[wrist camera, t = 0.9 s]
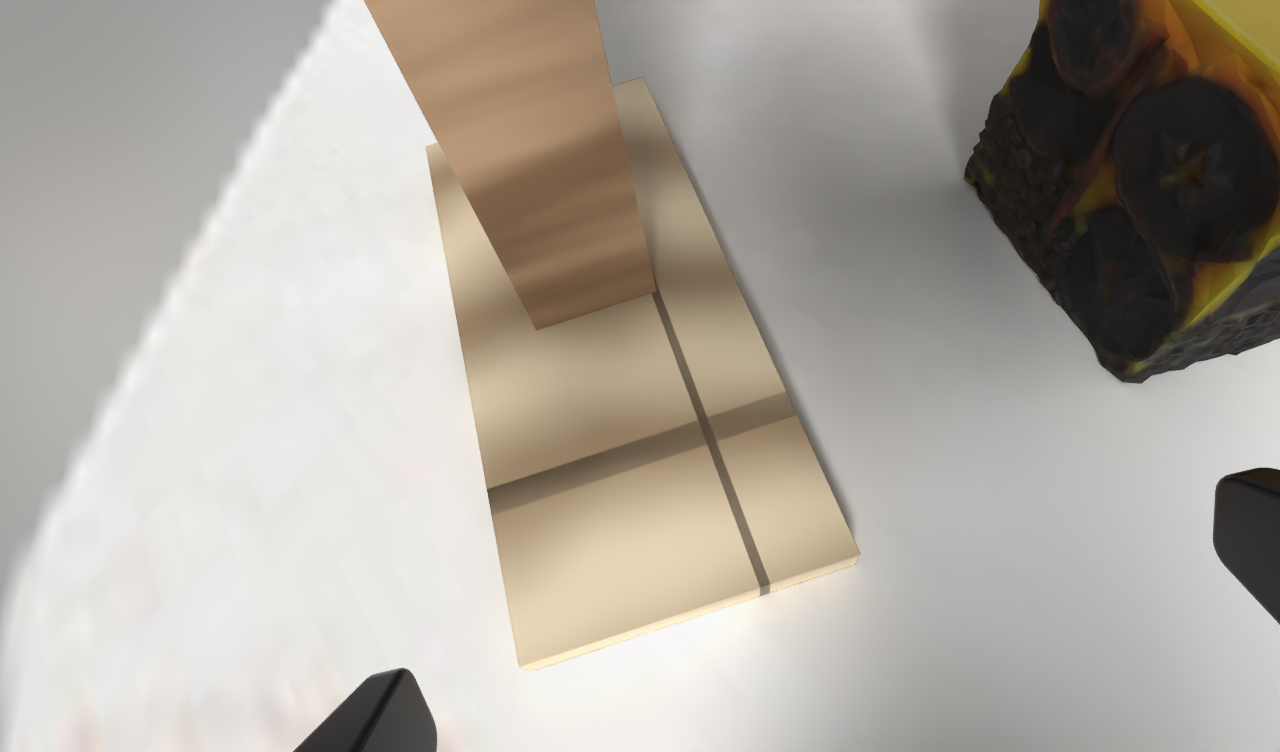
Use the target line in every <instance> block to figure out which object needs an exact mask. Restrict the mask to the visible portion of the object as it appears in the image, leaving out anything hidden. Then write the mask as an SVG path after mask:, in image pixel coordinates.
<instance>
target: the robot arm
mask: <svg viewBox="0 0 1280 752" xmlns="http://www.w3.org/2000/svg"><path fill="white" fill-rule="evenodd" d="M1213 544H1214V548H1215V550H1216V553H1217V555H1218V557H1219V558H1220V560H1221V561H1222V563H1223V564H1224V565H1225V566H1226V568H1227V569H1228V570H1229V571H1230V572H1231V573H1232V574H1233V575H1234V576H1235V577H1236V578H1237V579H1238V580H1239V581H1240V583H1241V584H1242V585H1243V586H1244V587H1245V588H1246V589H1247V590H1248V591H1249V592H1250V593H1251V594H1252V595H1253V596H1254V597H1255V599H1256V600H1257V601H1258V602H1259V603H1260V604H1261V605H1262V606H1263V607H1264V608H1265V609H1266V610H1267V611H1268V612H1269V613H1270V615H1271V616H1272V617H1273V618H1274V619H1275V620H1276V621H1277V622H1278V623H1279V624H1280V470H1278V469H1272V468H1255V469H1251V470H1247V471H1242V472H1238V473H1234V474H1230V475H1227V476H1225V477H1223V478H1221V479H1220V481H1219V482H1218V484H1217V486H1216V490H1215V507H1214V525H1213ZM436 751H437V731H436V726H435V722H434V719H433V717H432V714H431V712H430V710H429V708H428V706H427V703H426V701H425V699H424V697H423V695H422V692H421V690H420V688H419V686H418V684H417V681H416V679H415V677H414V676H413V674H412V673H411V672H410V671H409V670H408V669H405V668H398V669H394V670H390V671H386V672H381V673H377V674H374V675H371V676H370V677H368V678H367V679H366V680H365V681H364V682H363V683H362V684H361V685H360V686H359V687H358V688H357V689H356V690H355V691H354V692H353V693H352V694H351V695H350V696H349V697H348V698H347V699H346V700H345V701H344V702H343V703H342V704H341V705H340V706H339V707H338V708H337V709H336V710H335V711H334V712H333V713H332V714H331V715H330V716H329V717H327V718H326V719H325V720H324V721H323V722H322V723H321V724H320V725H319V726H318V727H317V728H316V729H315V730H314V731H313V732H312V733H311V734H310V735H309V736H308V737H307V738H306V739H305V740H304V741H303V742H302V743H301V744H300V745H299V746H298V747H297V748H296V749H295V750H294V751H293V752H436Z"/></svg>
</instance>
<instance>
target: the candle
mask: <svg viewBox="0 0 1280 752" xmlns="http://www.w3.org/2000/svg"><path fill="white" fill-rule="evenodd" d="M985 126H986V128H985V129H984V130H983V131H982V132H981V133H979V136H980V142H979V143H978V144H977V145H976V146H975V147H973V149H974V154H973V155H972V156H971V157H970V159H969V162H968V163H967V167H966V168H965V178H964V179H966V180H967V181H968V182H970V183H971V184H972V185H974V186H975V187H976V188H977V193H978V195H979V197H980V199H981V201H983V202H984V203H985V204H986V205H987V206H988V207H989V208H990V209H991V211H992V214H993V217H994V220H995V222H996V224H997V225H998V226H999V227H1000V228H1001V229H1002V230H1003V231H1004V232H1005V233H1006V234H1007V235H1008V237H1009V238H1010V240H1011V241H1012V243H1013V244H1014V246H1015V247H1016V249H1017V251H1018V252H1019V254H1020V256H1021V257H1022V258H1023V259H1024V261H1025V262H1026V263H1027V264H1028V265H1029V266H1030V267H1031V268H1032V269H1033V270H1034V271H1035V272H1036V273H1037V274H1038V275H1039V276H1040V280H1041V283H1042V284H1043V285H1044V286H1045V287H1046V288H1047V289H1048V290H1049V291H1050V292H1051V293H1052V295H1053V297H1054V298H1055V300H1056V302H1057V304H1059V305H1060V306H1062V307H1063V308H1064V309H1065V311H1066V312H1067V313H1068V314H1069V315H1070V317H1071V318H1072V319H1073V320H1074V322H1075V323H1076V324H1077V325H1078V327H1079V328H1080V329H1081V330H1082V331H1083V333H1084V334H1085V335H1086V337H1087V338H1088V340H1089V341H1090V342H1091V344H1092V345H1093V346H1094V348H1095V349H1096V351H1097V354H1098V356H1099V359H1100V361H1101V364H1102V366H1103V367H1105V368H1106V369H1107V370H1109V371H1110V372H1111V373H1113V374H1114V375H1115V376H1116V377H1117V378H1118V379H1119V380H1121V381H1122V382H1127V383H1143V382H1144V381H1145V380H1146V379H1148V378H1149V377H1150V376H1151V375H1156V374H1161V373H1164V372H1167V371H1174V370H1183V369H1185V368H1186V367H1188V366H1189V365H1191V364H1193V363H1195V362H1197V361H1204V360H1208V359H1212V358H1216V357H1219V356H1223V355H1225V354H1232V355H1238V354H1239V353H1241V352H1243V351H1246V350H1249V349H1252V348H1255V347H1257V346H1260V345H1263V344H1266V343H1269V342H1271V341H1273V340H1275V339H1279V338H1280V0H1040V8H1039V19H1038V22H1037V25H1036V28H1035V31H1034V32H1033V35H1032V38H1031V41H1030V44H1029V46H1028V48H1027V49H1026V51H1025V53H1024V54H1023V56H1022V58H1021V59H1020V61H1019V62H1018V64H1017V66H1016V67H1015V69H1014V70H1013V72H1012V73H1011V75H1010V76H1009V78H1008V80H1007V81H1006V83H1005V85H1004V87H1003V88H1002V90H1001V91H1000V92H998V93H997V94H996V95H995V96H994V97H993V100H992V102H991V105H990V109H989V114H988V119H987V120H986V121H985Z"/></svg>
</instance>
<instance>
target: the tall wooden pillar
mask: <svg viewBox="0 0 1280 752" xmlns="http://www.w3.org/2000/svg"><path fill="white" fill-rule="evenodd" d="M364 2H365V4H366V5H367V7H368V9H369V11H370V13H371V15H372V17H373V19H374V21H375V23H376V25H377V26H378V28H379V30H380V32H381V34H382V36H383V38H384V40H385V42H386V44H387V46H388V48H389V49H390V51H391V53H392V55H393V57H394V59H395V61H396V63H397V65H398V67H399V69H400V70H401V72H402V74H403V76H404V78H405V80H406V82H407V84H408V86H409V88H410V90H411V92H412V93H413V95H414V97H415V99H416V101H417V103H418V105H419V107H420V109H421V111H422V113H423V114H424V116H425V118H426V120H427V122H428V124H429V126H430V128H431V130H432V132H433V134H434V136H435V137H436V139H437V141H438V143H439V145H440V147H441V149H442V151H443V153H444V155H445V157H446V158H447V160H448V162H449V164H450V166H451V168H452V170H453V172H454V174H455V176H456V178H457V180H458V181H459V183H460V185H461V187H462V189H463V191H464V193H465V195H466V197H467V199H468V201H469V203H470V204H471V206H472V208H473V210H474V212H475V214H476V216H477V218H478V220H479V222H480V224H481V225H482V227H483V229H484V231H485V233H486V235H487V237H488V239H489V241H490V243H491V245H492V247H493V248H494V250H495V252H496V254H497V256H498V258H499V260H500V262H501V264H502V266H503V268H504V269H505V271H506V273H507V275H508V277H509V279H510V281H511V283H512V285H513V287H514V289H515V291H516V292H517V294H518V296H519V298H520V300H521V302H522V304H523V306H524V308H525V310H526V312H527V313H528V315H529V317H530V319H531V321H532V323H533V325H534V327H535V329H536V331H537V330H540V329H543V328H546V327H549V326H553V325H556V324H559V323H562V322H565V321H568V320H571V319H574V318H577V317H580V316H583V315H586V314H589V313H592V312H596V311H599V310H602V309H605V308H608V307H611V306H614V305H617V304H620V303H623V302H626V301H629V300H632V299H635V298H639V297H642V296H645V295H648V294H651V293H654V292H657V291H656V286H655V281H654V277H653V272H652V267H651V263H650V258H649V254H648V249H647V244H646V240H645V235H644V230H643V226H642V221H641V217H640V212H639V207H638V203H637V198H636V194H635V189H634V184H633V180H632V175H631V170H630V166H629V161H628V157H627V152H626V147H625V143H624V138H623V133H622V129H621V124H620V120H619V115H618V110H617V106H616V101H615V97H614V92H613V87H612V83H611V78H610V73H609V69H608V64H607V60H606V55H605V50H604V46H603V41H602V36H601V32H600V27H599V23H598V18H597V13H596V9H595V4H594V0H364Z"/></svg>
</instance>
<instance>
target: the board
mask: <svg viewBox="0 0 1280 752" xmlns="http://www.w3.org/2000/svg"><path fill="white" fill-rule="evenodd" d="M612 87H613V92H614V97H615V101H616V106H617V110H618V115H619V120H620V124H621V129H622V133H623V138H624V143H625V147H626V152H627V157H628V161H629V166H630V170H631V175H632V180H633V184H634V189H635V194H636V198H637V203H638V207H639V212H640V217H641V221H642V226H643V230H644V235H645V240H646V244H647V249H648V254H649V258H650V263H651V267H652V272H653V277H654V281H655V286H656V291H657V292H654V293H651V294H648V295H645V296H642V297H639V298H635V299H632V300H629V301H626V302H623V303H620V304H617V305H614V306H611V307H608V308H605V309H602V310H599V311H596V312H592V313H589V314H586V315H583V316H580V317H577V318H574V319H571V320H568V321H565V322H562V323H559V324H556V325H553V326H549V327H546V328H543V329H540V330H537V331H536V329H535V327H534V325H533V323H532V321H531V319H530V317H529V315H528V313H527V312H526V310H525V308H524V306H523V304H522V302H521V300H520V298H519V296H518V294H517V292H516V291H515V289H514V287H513V285H512V283H511V281H510V279H509V277H508V275H507V273H506V271H505V269H504V268H503V266H502V264H501V262H500V260H499V258H498V256H497V254H496V252H495V250H494V248H493V247H492V245H491V243H490V241H489V239H488V237H487V235H486V233H485V231H484V229H483V227H482V225H481V224H480V222H479V220H478V218H477V216H476V214H475V212H474V210H473V208H472V206H471V204H470V203H469V201H468V199H467V197H466V195H465V193H464V191H463V189H462V187H461V185H460V183H459V181H458V180H457V178H456V176H455V174H454V172H453V170H452V168H451V166H450V164H449V162H448V160H447V158H446V157H445V155H444V153H443V151H442V149H441V147H440V145H439V143H435V144H432V145H429V146H426V152H427V157H428V163H429V169H430V174H431V180H432V185H433V191H434V197H435V202H436V208H437V213H438V219H439V224H440V230H441V236H442V241H443V247H444V252H445V258H446V263H447V269H448V275H449V280H450V286H451V291H452V297H453V303H454V308H455V314H456V319H457V325H458V330H459V336H460V342H461V347H462V353H463V358H464V364H465V369H466V375H467V381H468V386H469V392H470V397H471V403H472V409H473V414H474V420H475V425H476V431H477V436H478V442H479V448H480V453H481V459H482V464H483V470H484V475H485V481H486V487H487V492H488V498H489V503H490V509H491V515H492V520H493V526H494V531H495V537H496V542H497V548H498V554H499V559H500V565H501V570H502V576H503V581H504V587H505V593H506V598H507V604H508V609H509V615H510V621H511V626H512V632H513V637H514V643H515V648H516V654H517V660H518V665H519V667H520V668H523V669H525V670H528V671H534V670H537V669H540V668H543V667H546V666H549V665H552V664H556V663H559V662H562V661H565V660H568V659H571V658H574V657H577V656H580V655H583V654H586V653H589V652H592V651H595V650H598V649H601V648H604V647H607V646H610V645H613V644H616V643H619V642H622V641H625V640H628V639H631V638H634V637H637V636H640V635H643V634H646V633H649V632H652V631H655V630H658V629H661V628H665V627H668V626H671V625H674V624H677V623H680V622H683V621H686V620H689V619H692V618H695V617H698V616H701V615H704V614H707V613H710V612H713V611H716V610H719V609H722V608H725V607H728V606H731V605H734V604H737V603H740V602H743V601H746V600H749V599H752V598H755V597H758V596H761V595H764V594H767V593H770V592H774V591H777V590H780V589H783V588H786V587H789V586H792V585H795V584H798V583H801V582H804V581H807V580H810V579H813V578H816V577H819V576H822V575H825V574H828V573H831V572H834V571H837V570H840V569H843V568H846V567H849V566H852V565H855V564H856V562H857V560H858V558H859V556H860V552H859V550H858V548H857V546H856V543H855V541H854V539H853V537H852V535H851V532H850V530H849V528H848V526H847V524H846V521H845V519H844V517H843V515H842V513H841V510H840V508H839V506H838V504H837V502H836V499H835V497H834V495H833V493H832V491H831V488H830V486H829V484H828V482H827V480H826V477H825V475H824V473H823V471H822V469H821V466H820V464H819V462H818V460H817V458H816V455H815V453H814V451H813V449H812V447H811V444H810V442H809V440H808V438H807V436H806V434H805V431H804V429H803V427H802V425H801V423H800V420H799V418H798V416H797V414H796V412H795V409H794V407H793V405H792V403H791V401H790V398H789V396H788V394H787V392H786V390H785V387H784V385H783V383H782V381H781V379H780V376H779V374H778V372H777V370H776V368H775V365H774V363H773V361H772V359H771V357H770V354H769V352H768V350H767V348H766V346H765V343H764V341H763V339H762V337H761V335H760V333H759V330H758V328H757V326H756V324H755V322H754V319H753V317H752V315H751V313H750V311H749V308H748V306H747V304H746V302H745V300H744V297H743V295H742V293H741V291H740V289H739V286H738V284H737V282H736V280H735V278H734V275H733V273H732V271H731V269H730V267H729V264H728V262H727V260H726V258H725V256H724V253H723V251H722V249H721V247H720V245H719V242H718V240H717V238H716V236H715V234H714V231H713V229H712V227H711V225H710V223H709V221H708V218H707V216H706V214H705V212H704V210H703V207H702V205H701V203H700V201H699V199H698V196H697V194H696V192H695V190H694V188H693V185H692V183H691V181H690V179H689V177H688V174H687V172H686V170H685V168H684V166H683V163H682V161H681V159H680V157H679V155H678V152H677V150H676V148H675V146H674V144H673V141H672V139H671V137H670V135H669V133H668V130H667V128H666V126H665V124H664V122H663V119H662V117H661V115H660V113H659V111H658V109H657V106H656V104H655V102H654V100H653V98H652V95H651V93H650V91H649V89H648V87H647V84H646V82H645V80H644V78H643V77H640V78H636V79H633V80H630V81H627V82H624V83H621V84H618V85H615V86H612Z"/></svg>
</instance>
